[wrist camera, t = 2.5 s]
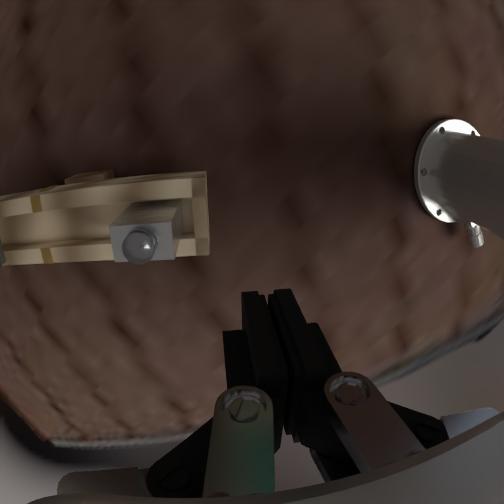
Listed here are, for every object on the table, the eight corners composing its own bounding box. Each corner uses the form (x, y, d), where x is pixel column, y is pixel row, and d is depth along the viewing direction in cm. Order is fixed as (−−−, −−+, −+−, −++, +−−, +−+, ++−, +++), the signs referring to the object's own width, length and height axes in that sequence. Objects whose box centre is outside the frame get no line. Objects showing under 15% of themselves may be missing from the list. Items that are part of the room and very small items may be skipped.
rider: (180, 199, 23) (168, 227, 17) (183, 228, 24) (172, 266, 18) (131, 202, 23) (103, 232, 17) (135, 231, 24) (110, 269, 18)
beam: (207, 160, 27) (202, 178, 18) (210, 232, 30) (209, 282, 21) (11, 185, 25) (-47, 212, 16) (23, 245, 28) (-26, 287, 19)
